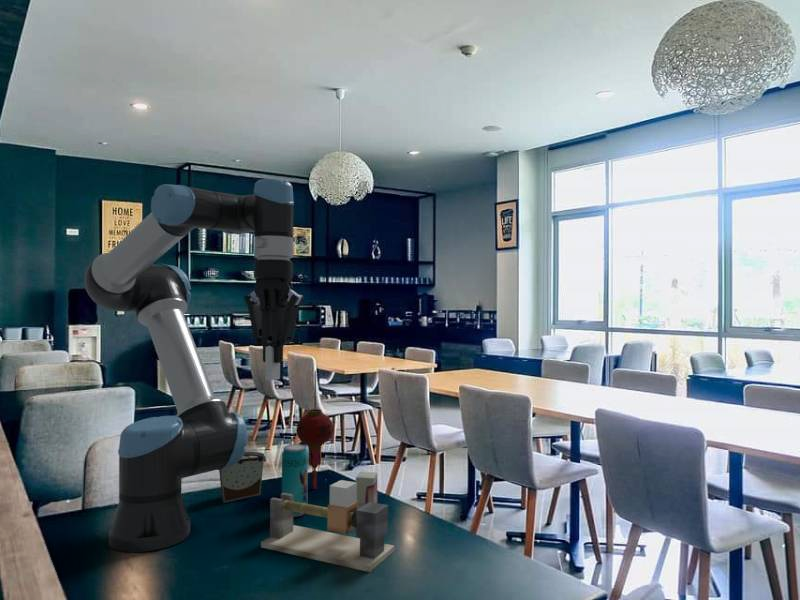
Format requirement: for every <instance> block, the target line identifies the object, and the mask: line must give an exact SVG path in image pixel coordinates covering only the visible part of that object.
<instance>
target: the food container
mask: <svg viewBox="0 0 800 600" xmlns="http://www.w3.org/2000/svg"><path fill="white" fill-rule="evenodd" d="M264 462H265V463H266V462H267V460H266V455H265V453H264V452H259V451H246V450H245V453H244V455H243V456H242V458H241V459H240V460H239V461H238V462H237V463H236V464H234V465H231V466H228V467H225V468H224V469H221V470H218V472H219V481H220V483H219V484H220V491H221V492H220V494H221V501H222V503H224V504H225V503H229V502H233V501H238V500H242V499H243V500H244V499H248V498H252V497H257V496H261V489H262V480H263V479H262V478H263V472H264V471H263V469H264Z"/></svg>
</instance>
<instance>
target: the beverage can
mask: <svg viewBox="0 0 800 600" xmlns="http://www.w3.org/2000/svg"><path fill="white" fill-rule="evenodd" d="M307 447H308V446H307V445H306V444H299V443H295V444H287V445H284V446H283V450H282V453H281V494H282V493H289V494H293V501H294V502H299V503H305V504H309V502H308V493H309V492H308V491H309V490H308V487H309V486H308V485H309V484H308V483H309V481H308V480H309V479H308V477H309V473H308V472H309V471H308V470H309V464H308V460H309V451H308V450H307V449H308V448H307ZM304 515H305V513H300V512H295V511H293V518H297V517H302V516H304Z"/></svg>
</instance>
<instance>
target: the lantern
mask: <svg viewBox="0 0 800 600" xmlns="http://www.w3.org/2000/svg"><path fill="white" fill-rule="evenodd" d="M316 379H317V371H316V370H315V371H314V408H313V409H308V412H307V413H306V414H305V415H303V416H301V417H300V419H299V421H298V422H297V426H296V435H297V438H298V439H299V440H300V441H301V442H302V443H303V444H304V445H306V447H308V448H307V449H308V466H311V468H312V469H313V470H312V474H311V489H312V490H317V489H318V471H317V470H316V468H318V467H319V466H321V464H322V446H323V445H324V444H325V443H328V441H329V440H330V439H331V437H332V436H333V432H334V425H333V422H332V420H331V418H329V416H328V415H325V414H324V413H323V411H322V409H320V408H319V409H317V405H316V402H317V400H316V398H317V396H316V395H317V394H316V393H317V388H316V387H317V385H316V384H317V381H316Z"/></svg>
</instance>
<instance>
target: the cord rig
mask: <svg viewBox="0 0 800 600" xmlns="http://www.w3.org/2000/svg"><path fill="white" fill-rule="evenodd" d="M269 501H270V502H269V503H270V505H269V508H270V509H269V513H270V514H269V515H270V516H269V519H270V520H269V537H268V538H265V539H264V540H262V541H261V542H260V548H263V549H267V550H272V551H276V552H280V553H285V554H290V555H292V556H293V555H294V556H298V557H303V558H306V559H310V560H315V561H319V562H325V563H329V564H332V565H337V566H342V567H347V568H350V569H354V570H359V571H364V572H367V573H371V572H372V571H373V570H374V569H375V568H376V567H377V566H378V565H380V564H381V563H383V562H384V560H386V559H387V558H389V556H390V555H391V554H393V553H394V552H395V551H396V550H395V549H396V548H395V547H396V545H393V544H387V543H385V535H386V534H387V533H388V532H389V504H383V503H378V502H377V503H373V502H369V503H367V504H365V505H364V506H362V507H361V508H359V509H355V511H354V512H349V511H348V522H352V526H353V527H354V528H355V530H356V531H355V534H356V537H354V536H351V535H350V536H348V535H346V534H341V533H336V532H331V531H325V530H321V529H314V528H310V527H305V526H301V525H295V524H294V517H293V511H295V512H300V513H304V515H305V514H306V515H312V516H316V517H323V518H327V519H328V506H327V507H325V506H320V505H315V504H310V503H308V504H305V503H299V502H294V501H293V494H289V493H282V492H281V493H280V498H278V497H272V498H270V500H269Z"/></svg>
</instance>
